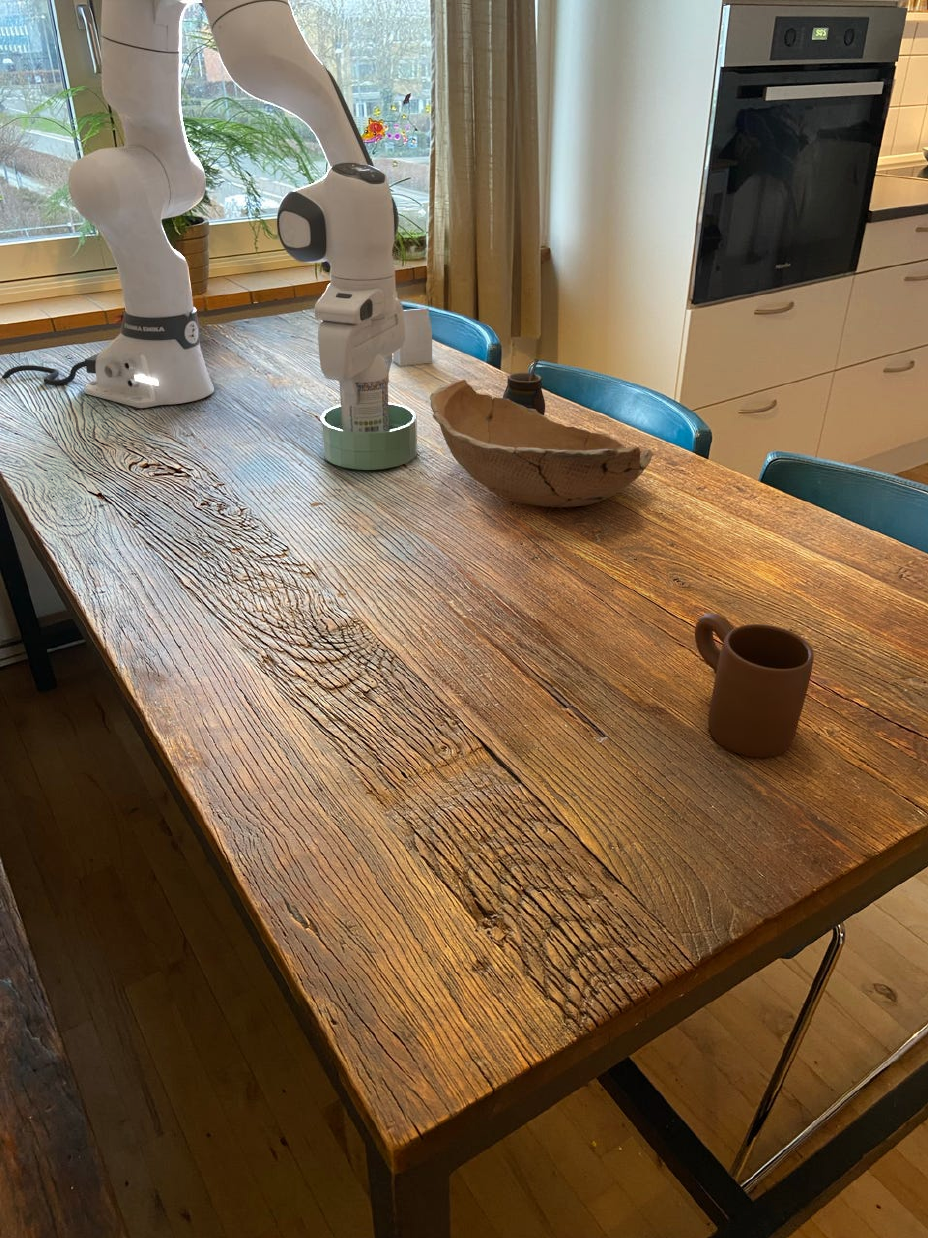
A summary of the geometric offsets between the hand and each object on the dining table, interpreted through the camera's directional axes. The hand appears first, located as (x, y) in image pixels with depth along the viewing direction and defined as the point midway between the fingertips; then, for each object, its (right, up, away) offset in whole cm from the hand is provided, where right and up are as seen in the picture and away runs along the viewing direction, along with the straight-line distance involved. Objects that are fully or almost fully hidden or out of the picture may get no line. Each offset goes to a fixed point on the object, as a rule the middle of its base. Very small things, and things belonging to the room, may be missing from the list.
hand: (367, 394), depth 133 cm
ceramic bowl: (+24, -15, -5) cm, 29 cm away
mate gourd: (+24, -1, +18) cm, 29 cm away
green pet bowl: (0, -8, +5) cm, 9 cm away
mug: (+39, -42, -49) cm, 75 cm away
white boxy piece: (+4, +18, +48) cm, 51 cm away
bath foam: (-1, -8, +5) cm, 9 cm away
